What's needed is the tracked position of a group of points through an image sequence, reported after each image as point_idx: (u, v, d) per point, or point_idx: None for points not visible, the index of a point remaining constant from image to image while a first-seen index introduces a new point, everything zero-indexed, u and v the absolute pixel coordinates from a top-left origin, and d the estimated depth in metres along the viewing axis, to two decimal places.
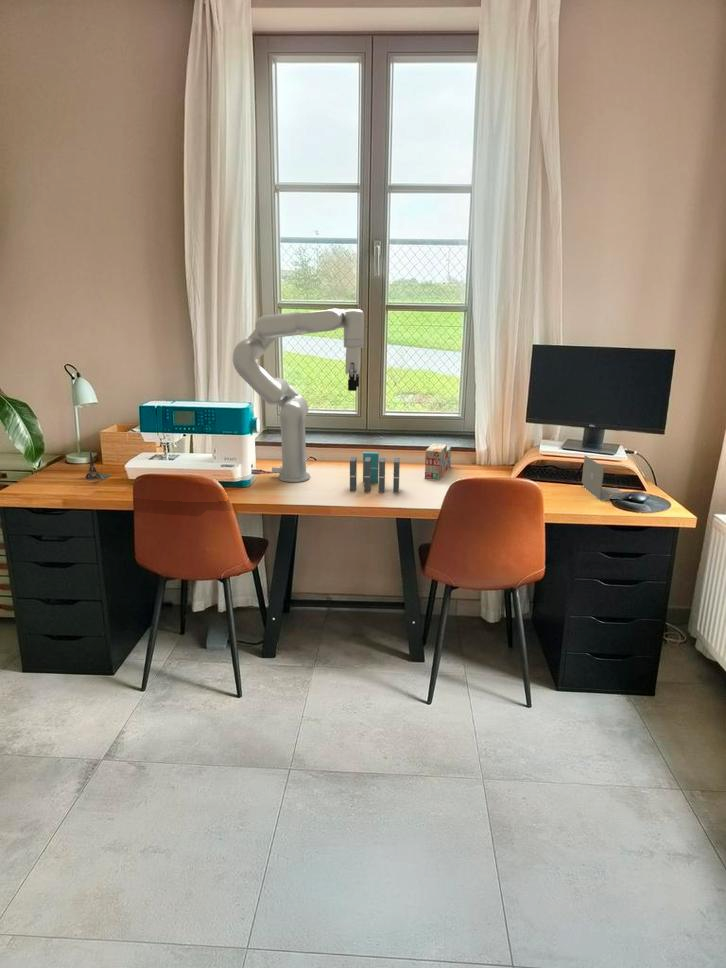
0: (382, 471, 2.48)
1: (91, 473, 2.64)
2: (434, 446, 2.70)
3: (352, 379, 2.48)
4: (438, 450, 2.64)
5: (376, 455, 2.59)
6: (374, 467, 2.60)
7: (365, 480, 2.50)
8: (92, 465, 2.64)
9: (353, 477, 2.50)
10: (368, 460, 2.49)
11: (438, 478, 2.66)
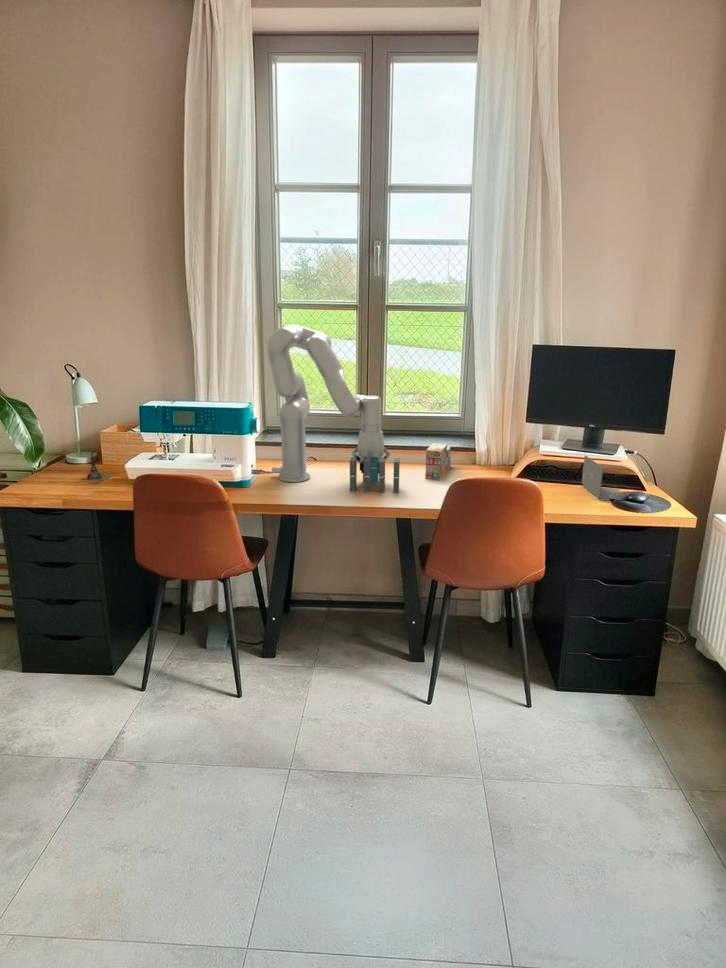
0: (382, 471, 2.48)
1: (92, 473, 2.64)
2: (434, 446, 2.70)
3: None
4: (439, 450, 2.65)
5: None
6: (374, 467, 2.60)
7: (365, 480, 2.50)
8: (93, 465, 2.64)
9: (353, 477, 2.50)
10: (368, 460, 2.49)
11: (439, 478, 2.67)
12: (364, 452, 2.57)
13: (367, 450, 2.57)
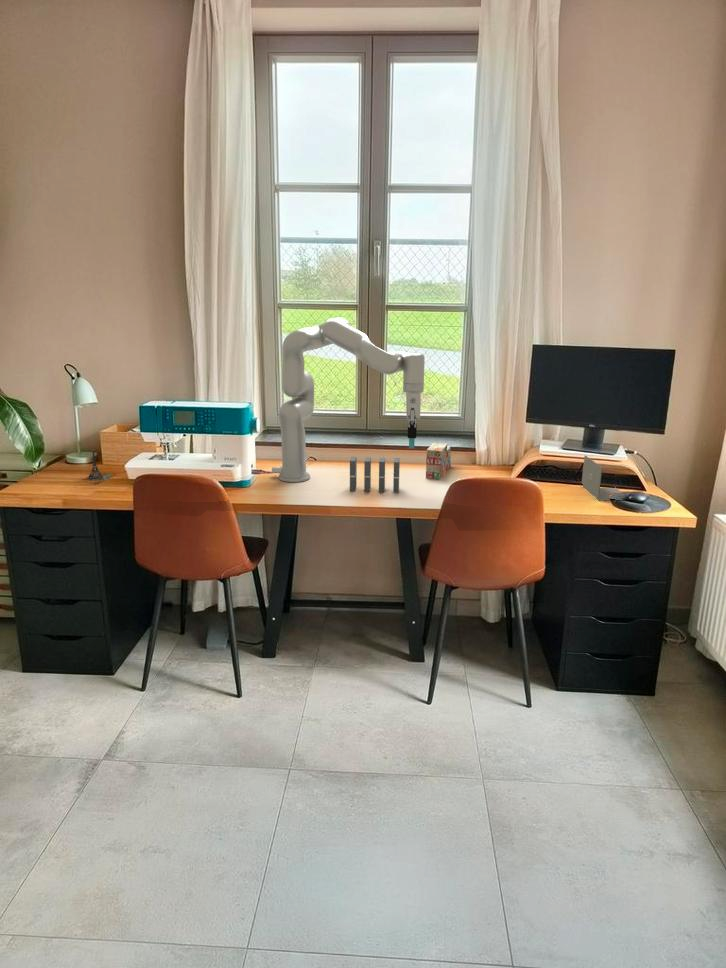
0: (382, 471, 2.48)
1: (94, 473, 2.64)
2: (435, 445, 2.71)
3: None
4: (439, 449, 2.65)
5: None
6: None
7: (365, 480, 2.50)
8: (95, 465, 2.64)
9: (353, 477, 2.50)
10: (368, 460, 2.49)
11: (439, 477, 2.67)
12: None
13: None
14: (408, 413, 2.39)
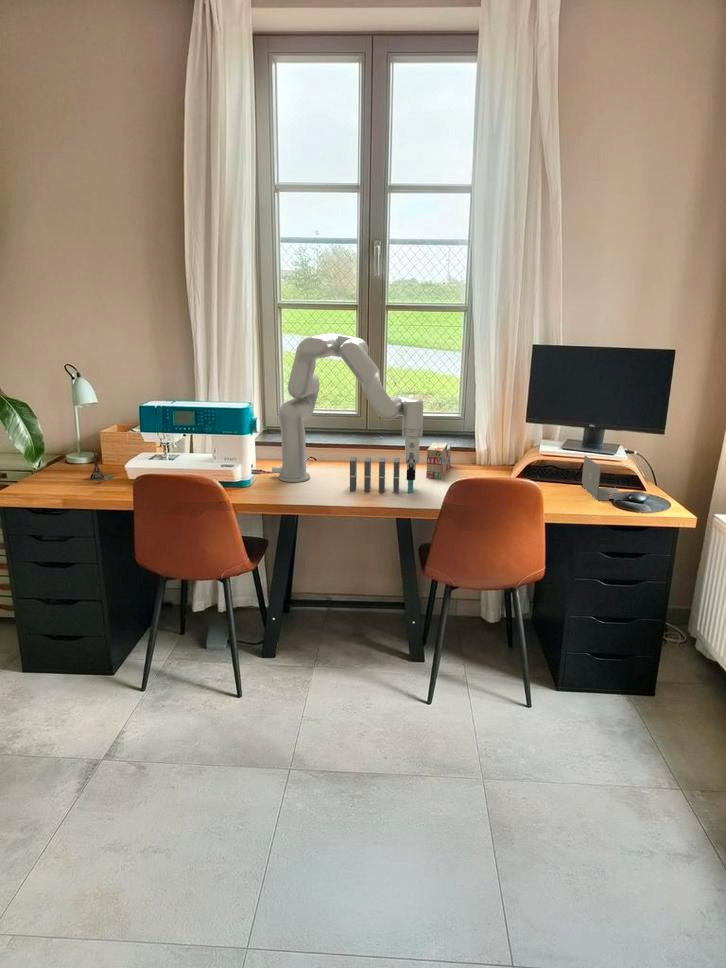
0: (382, 471, 2.48)
1: (95, 474, 2.63)
2: (435, 445, 2.71)
3: None
4: (439, 449, 2.66)
5: None
6: None
7: (365, 480, 2.50)
8: (96, 466, 2.64)
9: (353, 477, 2.50)
10: (368, 460, 2.49)
11: (440, 477, 2.68)
12: None
13: None
14: (407, 457, 2.44)
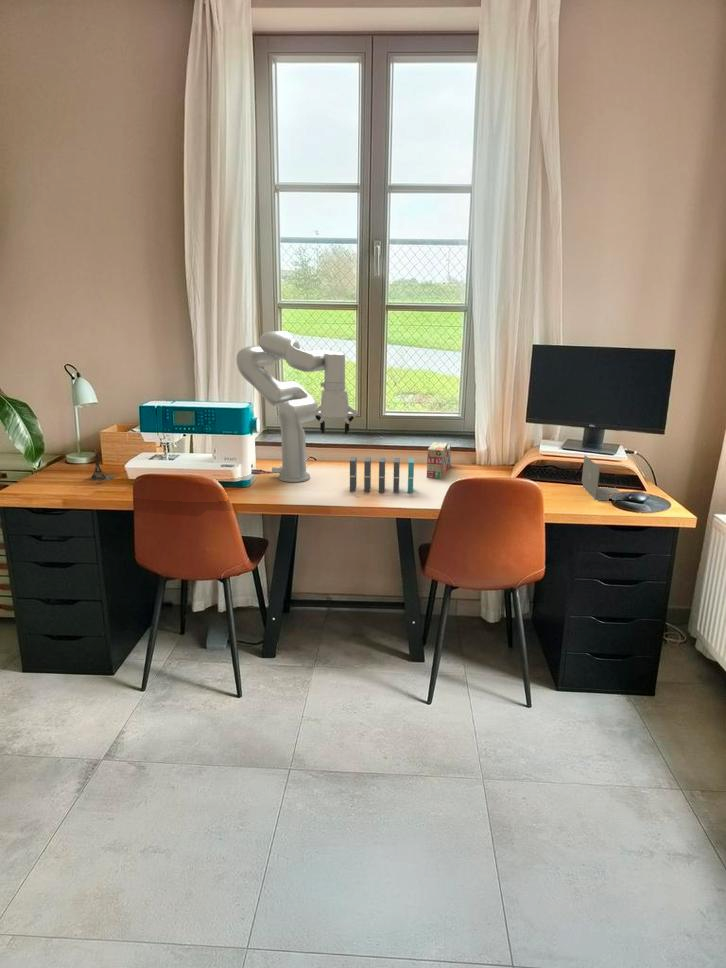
0: (382, 471, 2.48)
1: (96, 474, 2.63)
2: (435, 445, 2.72)
3: None
4: (440, 449, 2.66)
5: None
6: None
7: (365, 480, 2.50)
8: (97, 466, 2.64)
9: (353, 477, 2.50)
10: (368, 460, 2.49)
11: (440, 476, 2.68)
12: (327, 412, 2.43)
13: (330, 410, 2.43)
14: None
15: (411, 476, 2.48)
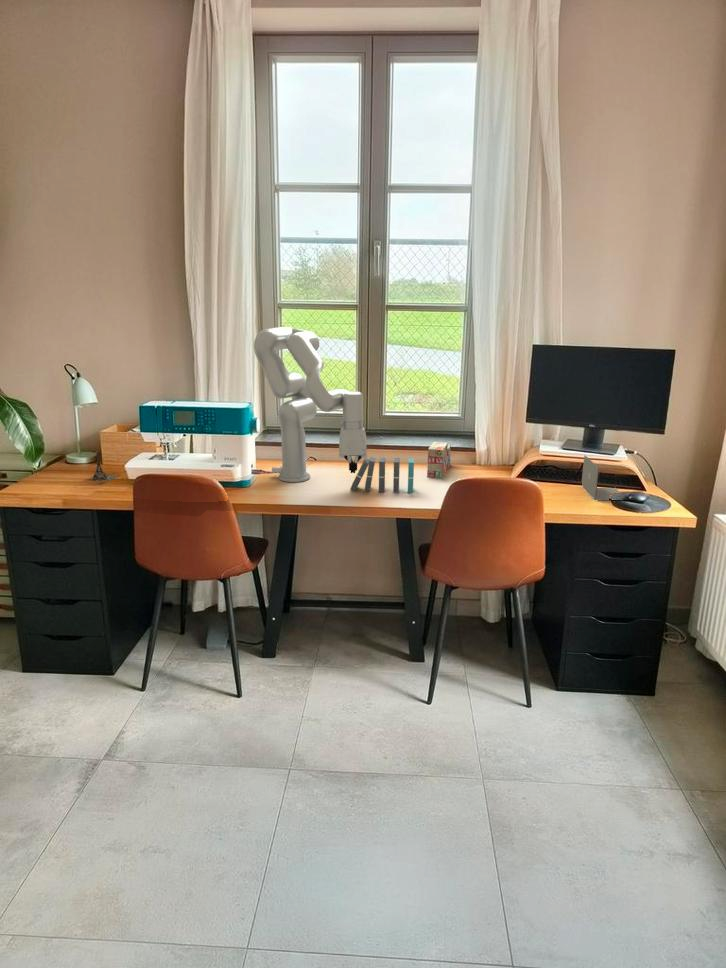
0: (382, 471, 2.48)
1: (98, 474, 2.63)
2: (436, 444, 2.72)
3: None
4: (440, 448, 2.67)
5: None
6: None
7: (367, 480, 2.50)
8: (99, 466, 2.63)
9: (359, 478, 2.50)
10: (373, 460, 2.49)
11: (440, 476, 2.69)
12: (346, 450, 2.47)
13: (349, 448, 2.47)
14: None
15: (411, 476, 2.48)
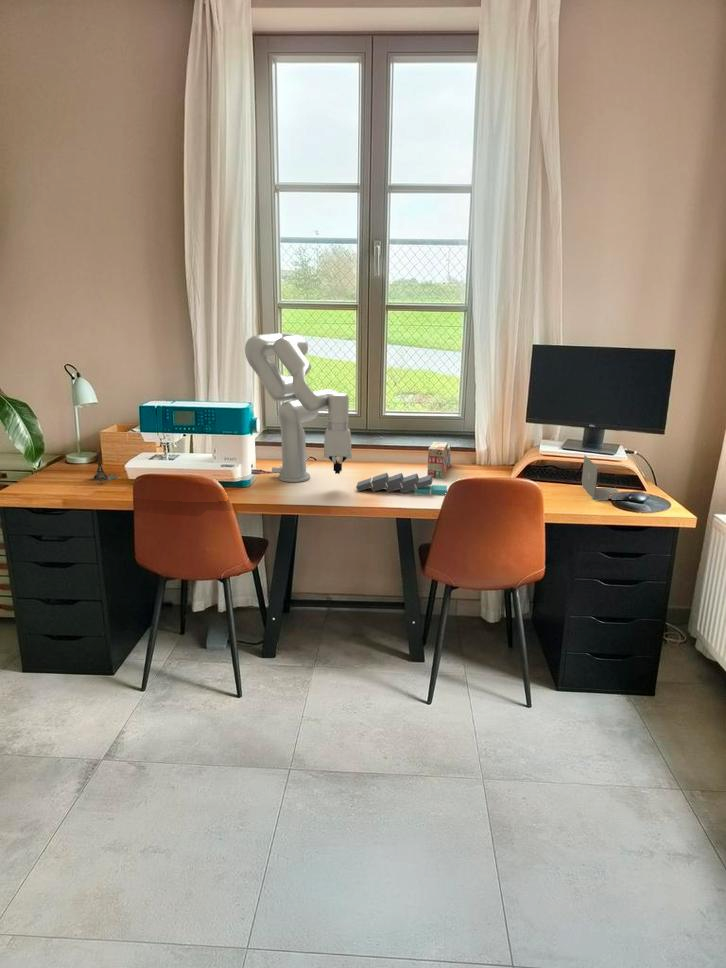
0: (407, 484, 2.48)
1: (98, 474, 2.63)
2: (436, 444, 2.73)
3: None
4: (441, 448, 2.67)
5: None
6: None
7: (382, 484, 2.49)
8: (100, 466, 2.63)
9: (371, 485, 2.50)
10: (402, 479, 2.49)
11: (441, 476, 2.69)
12: (330, 451, 2.48)
13: (334, 449, 2.47)
14: None
15: (432, 492, 2.48)
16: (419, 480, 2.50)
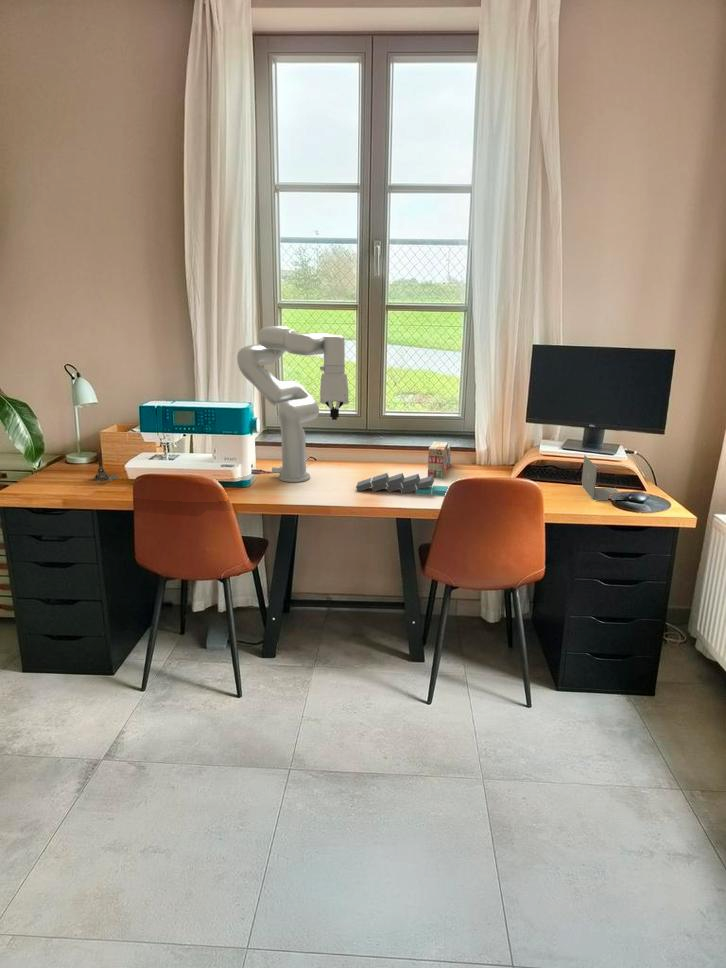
0: (407, 484, 2.48)
1: (99, 474, 2.63)
2: (436, 444, 2.73)
3: None
4: (441, 448, 2.67)
5: None
6: None
7: (382, 484, 2.50)
8: (101, 466, 2.63)
9: (370, 485, 2.50)
10: (402, 479, 2.49)
11: (441, 476, 2.69)
12: (327, 396, 2.42)
13: (330, 393, 2.41)
14: None
15: (433, 493, 2.48)
16: (420, 481, 2.49)
